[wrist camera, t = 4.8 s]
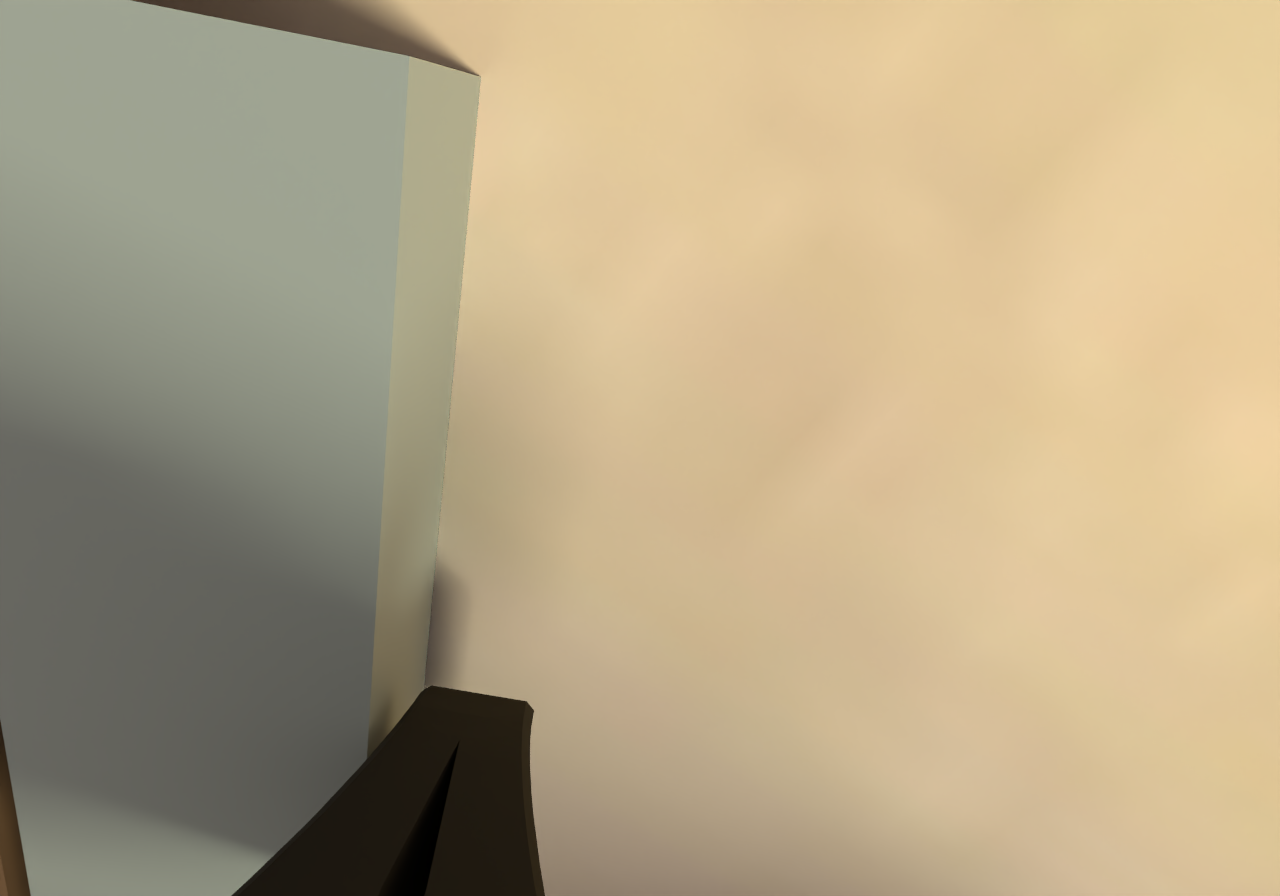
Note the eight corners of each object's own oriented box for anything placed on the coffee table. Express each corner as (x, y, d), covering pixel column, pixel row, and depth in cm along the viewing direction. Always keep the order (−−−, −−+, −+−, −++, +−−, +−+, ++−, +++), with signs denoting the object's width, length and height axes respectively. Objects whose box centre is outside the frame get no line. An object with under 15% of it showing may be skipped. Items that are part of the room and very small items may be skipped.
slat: (490, 80, 9) (410, 55, 6) (400, 995, 15) (340, 1196, 12) (127, 6, 8) (-134, -52, 6) (188, 964, 15) (77, 1161, 12)
